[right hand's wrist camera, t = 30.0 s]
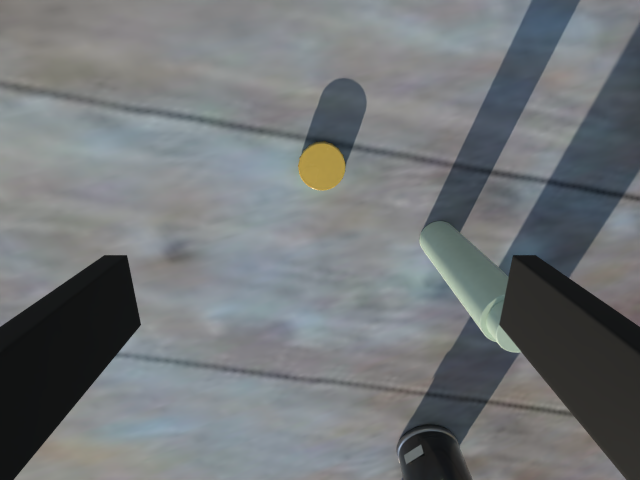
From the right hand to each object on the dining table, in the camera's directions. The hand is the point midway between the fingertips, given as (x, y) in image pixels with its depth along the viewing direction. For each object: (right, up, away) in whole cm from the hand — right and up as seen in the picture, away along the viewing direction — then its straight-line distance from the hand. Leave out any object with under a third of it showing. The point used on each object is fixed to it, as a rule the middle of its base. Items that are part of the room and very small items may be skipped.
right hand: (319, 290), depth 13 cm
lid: (0, +10, +27) cm, 29 cm away
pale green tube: (+14, +2, +32) cm, 35 cm away
